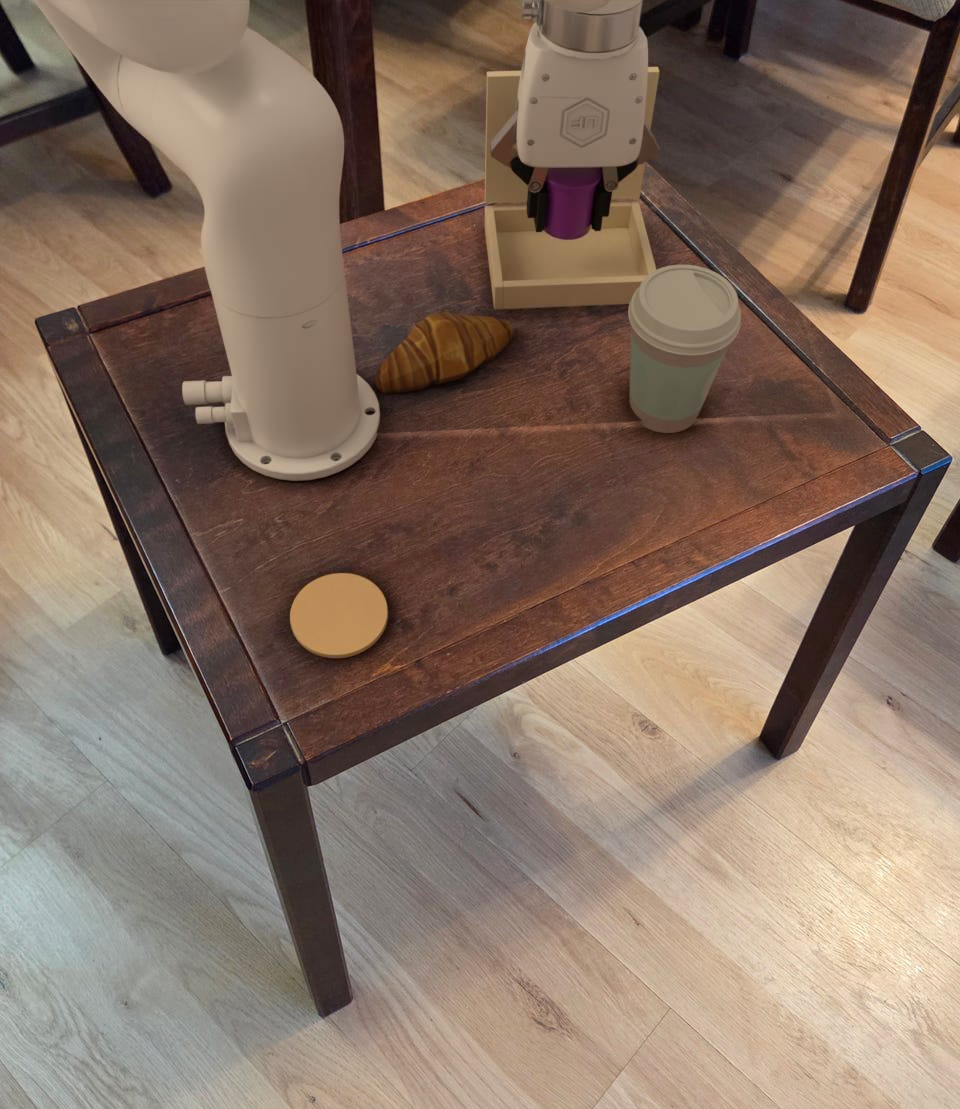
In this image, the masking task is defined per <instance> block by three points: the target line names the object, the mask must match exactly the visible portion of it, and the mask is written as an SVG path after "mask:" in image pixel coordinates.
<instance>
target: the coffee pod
mask: <svg viewBox="0 0 960 1109" xmlns="http://www.w3.org/2000/svg"><path fill="white" fill-rule="evenodd" d="M601 173H602V172H601V168H600V167H583V168H549V170H548V173H547V176H546V179H545V185H546V188H547V193H548V198H547V208H546V218H545V229H544V231H545V232H546V233H547V234H549V235H550V236H552V237H555V238H558V239H562V240H574V239H579V238H581V237H583V236H585V235H586V234H587V233H588V232H589V230H590V228H591V220H592V213H593V206H594V198H595V191H596V185H597V184H598V183H599V181H600V179H601Z"/></svg>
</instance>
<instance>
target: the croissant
mask: <svg viewBox="0 0 960 1109" xmlns="http://www.w3.org/2000/svg"><path fill="white" fill-rule="evenodd" d="M515 336H516V332H515V328H514V327H513V325H512V323H511V322H510V321H508V320H507V319H503V318H498V317H494V316H491V315H490V316H487V315H474V314H473V315H471V314H464V315H463V314H462V315H458V314H456V313H452V312H449V311H444V312H438V313H432V314H429V315H427V316H425V317H424V318H423V319H421V320H420V321H418V322H416V323H415V324H414V325H413V327H412V329H411V330H410V332H409V334H408V336H407V337H406V338H404V339H403V340H402V341H401V343H400V344H399V345H397V347H395V349H394V350H393V351H392V352H391V353H390V354H389V355H388V356H387V357H386V359H385V360H384V361H383V363H382V364H381V366H380V367H379V368H378V371H377V372H376V373H375V375H374V378H373V380H374V384H375V387H376V389H377V391H379V392H380V393H381V394H383V395H388V394H389V395H390V394H402V393H403V394H404V393H407V392H408V393H410V392H415V391H421V390H424V389H426V388H429V387H430V386H435V385H442V384H445V383H450V382H453V381H457V380H461V379H463V378H465V377H466V376H467V375H469V374H470V373H472V372H473V371H475V370H476V369H477V368H479V367H480V366H481V365H482V364H484V363H486V362H490V361H492V360H493V359H494V358H495V357H497V356H498V355H499V354H500V353H501V352H502V351H504V350H505V349H507V347H508V345H510V344H511V342H512V341H513V340H514V339H515Z"/></svg>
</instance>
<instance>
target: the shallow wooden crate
mask: <svg viewBox="0 0 960 1109" xmlns="http://www.w3.org/2000/svg"><path fill="white" fill-rule="evenodd" d="M484 235H485V243H486V252H487V260H488V268H489V269H488V270H489V277H490V286H491V293H492V295H491V296H492V302H493V309H494V310H512V309H513V310H515V309H537V308H563V307H589V306H613V305H614V306H615V305H629V304H630V302H631V300H632V297H633V295H634V293H635V291H636V290H637V289H638V288H639V287H640V285H641V283H642V281H643V280H644V279H645V278H646V277H647V276H648V275H649V274H650V273H652V272H654V271H655V270H657V266H656V262H655V258H654V255H653V252H652V247H651V244H650V239H649V236H648V232H647V228H646V224H645V221H644V217H643V213H642V209H641V205H640V202H639V200H638V199H636V200H634V199H632V200H611V204H610V211H609V216H608V217H603V219H602V226H601V231H594V230H592V226H591V228H590V230H589V232H588V233H587V234H586V235H585V236H583V237H581V238H579V239H574V240H562V239H558V238H555V237H552V236H550V235H549V234H547V233H546V232H545V231H542V232H536V229H535V223H534V218H528V217H527V203H519V204H517V203H515V204H494V205H492V204H491V205H485V206H484Z"/></svg>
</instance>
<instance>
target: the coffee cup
mask: <svg viewBox="0 0 960 1109" xmlns="http://www.w3.org/2000/svg"><path fill="white" fill-rule="evenodd" d="M627 316H628V320H629V323H630V330H631V331H630V356H629V357H630V360H629V361H630V362H629V406H630V408H631V410H632V412H633V413H634V414H635V415H636V417H637V418H638V419H640V420H636V422H637V423H638V424H639V425H641V426H642V427H644V428H645V429H648V430H650V431H653V432H656V433H662V434H673V433H674V434H675V433H679V432H682V431H685V430H687V429H688V428H690V427H692V425H694V424H695V422H696V421H697V418H698V416H699V414H700V413H701V410H702V408H703V406H704V404H705V401H706V399H707V397H708V394H709V392H710V390H711V388H712V386H713V382H714V381H715V378H716V376H717V373H718V371H719V369H720V366H721V364H722V362H723V360H724V358H725V355H726V353H727V350H728V348H729V346H730V344H731V343H732V342H733V341H734V340H735V339H736V337H737V336H738V334H739V332H740V329H741V323H742V312H741V307H740V304H739V296H738V293H737V290H736V289H735V287H734V286H733V285H732V284H731V282H729V280H727V278H725V277H724V276H722V275H721V274H720V273H718V272H716V271H714V270H712V269H709V268H707V267H703V266H699V265H693V264H672V265H671V264H670V265H667V266H663V267H659V268H658V269H657V268H656V270H655V271H654V272H652V273H650V274H649V275H648V276H647V277H646V278H645V279H644V280H643V281H642V283H641V285H640V287H639V288H638V289H637V290H636V291H635V293H634V295H633V297H632V300H631V302H630V304H628V309H627Z"/></svg>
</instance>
